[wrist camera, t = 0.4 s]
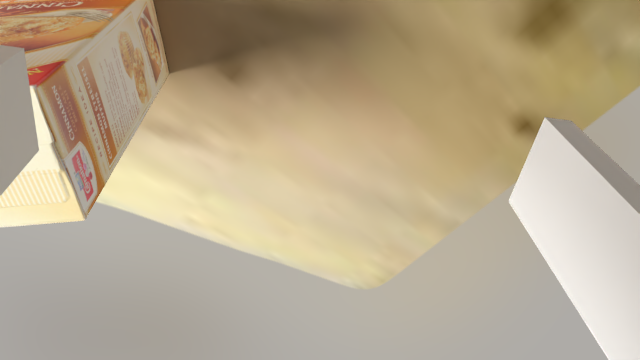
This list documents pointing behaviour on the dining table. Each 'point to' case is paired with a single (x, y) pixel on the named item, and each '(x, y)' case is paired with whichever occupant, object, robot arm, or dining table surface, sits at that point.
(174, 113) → the dining table surface
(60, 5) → the coffeecake box
